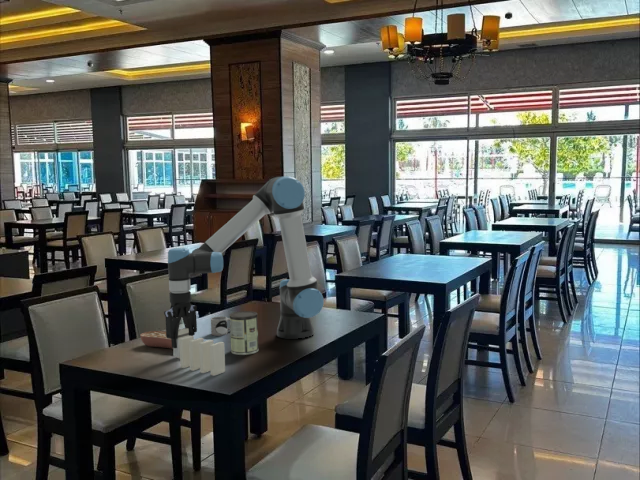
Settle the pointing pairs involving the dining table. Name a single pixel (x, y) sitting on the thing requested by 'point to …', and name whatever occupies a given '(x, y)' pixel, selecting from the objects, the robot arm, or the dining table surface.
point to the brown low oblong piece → (156, 339)
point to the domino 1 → (183, 334)
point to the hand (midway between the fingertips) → (182, 354)
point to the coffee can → (244, 332)
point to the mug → (219, 326)
